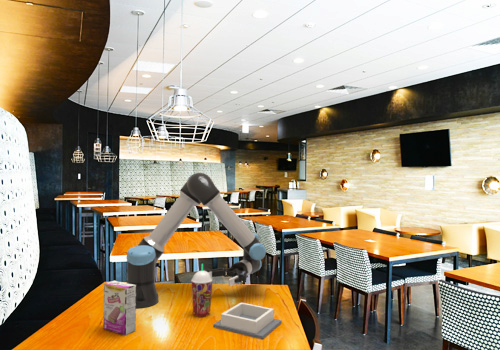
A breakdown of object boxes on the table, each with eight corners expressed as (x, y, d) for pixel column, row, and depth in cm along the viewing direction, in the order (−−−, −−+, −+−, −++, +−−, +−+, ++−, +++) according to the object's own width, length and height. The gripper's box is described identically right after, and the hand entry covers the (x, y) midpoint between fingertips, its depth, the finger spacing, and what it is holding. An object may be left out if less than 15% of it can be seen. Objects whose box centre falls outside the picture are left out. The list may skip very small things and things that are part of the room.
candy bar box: (102, 329, 129) (103, 283, 129) (113, 324, 133) (114, 279, 134) (125, 336, 124) (126, 288, 124) (136, 331, 128) (136, 284, 128)
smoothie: (208, 319, 140) (209, 266, 140) (187, 317, 141) (188, 265, 142) (214, 311, 148) (215, 262, 148) (195, 309, 150) (195, 260, 150)
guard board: (213, 327, 132) (213, 313, 132) (235, 313, 146) (235, 300, 147) (262, 339, 123) (262, 324, 123) (281, 323, 137) (281, 309, 137)
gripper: (264, 281, 166) (241, 294, 147) (218, 274, 178) (191, 284, 159) (264, 264, 166) (241, 275, 147) (218, 258, 178) (192, 267, 159)
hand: (215, 280), depth 153 cm, fingers open, 13 cm apart
